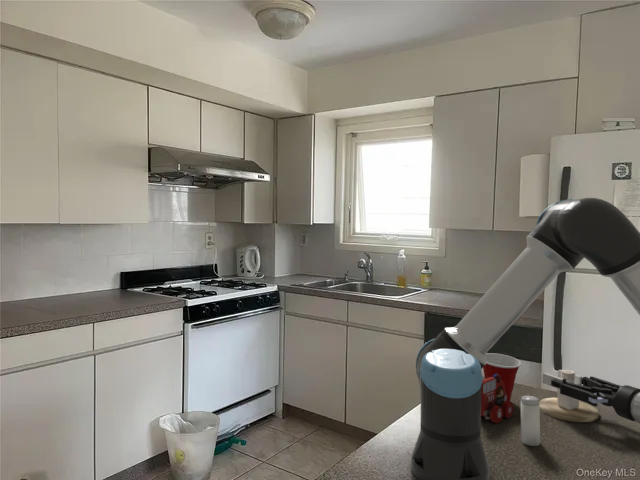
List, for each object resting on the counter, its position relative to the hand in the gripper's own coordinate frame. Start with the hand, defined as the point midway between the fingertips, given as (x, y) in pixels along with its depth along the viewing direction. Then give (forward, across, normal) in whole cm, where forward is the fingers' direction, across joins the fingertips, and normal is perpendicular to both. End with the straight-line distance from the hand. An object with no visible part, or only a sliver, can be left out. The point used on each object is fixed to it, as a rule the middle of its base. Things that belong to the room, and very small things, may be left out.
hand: (551, 376), depth 131 cm
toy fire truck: (+1, -20, -8) cm, 22 cm away
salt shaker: (-13, -24, -8) cm, 28 cm away
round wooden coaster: (-5, 0, -8) cm, 9 cm away
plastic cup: (+8, -11, -8) cm, 16 cm away
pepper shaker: (-5, 0, -7) cm, 9 cm away
